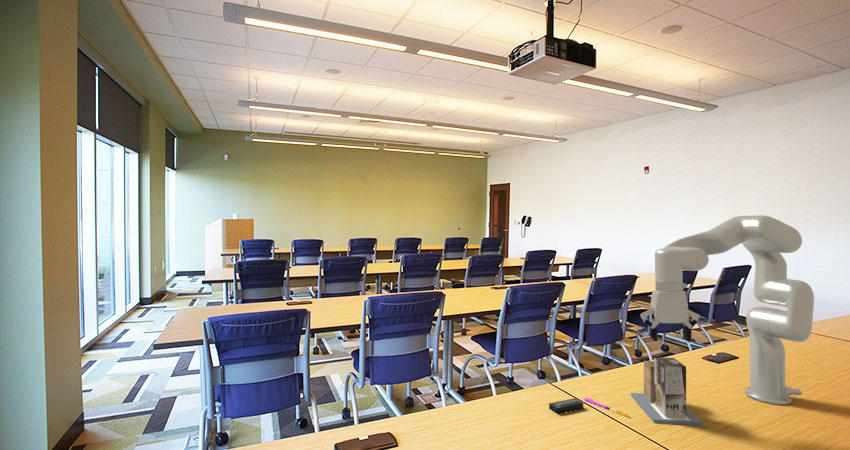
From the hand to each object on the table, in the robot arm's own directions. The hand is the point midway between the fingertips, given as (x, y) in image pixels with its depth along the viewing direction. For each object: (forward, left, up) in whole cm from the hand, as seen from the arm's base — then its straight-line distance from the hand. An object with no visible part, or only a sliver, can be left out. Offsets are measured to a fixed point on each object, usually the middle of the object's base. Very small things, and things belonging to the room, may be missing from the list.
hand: (670, 340), depth 130 cm
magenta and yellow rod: (+18, -3, -25) cm, 31 cm away
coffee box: (0, 0, -23) cm, 23 cm away
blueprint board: (0, -4, -24) cm, 24 cm away
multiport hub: (+32, 0, -25) cm, 41 cm away
